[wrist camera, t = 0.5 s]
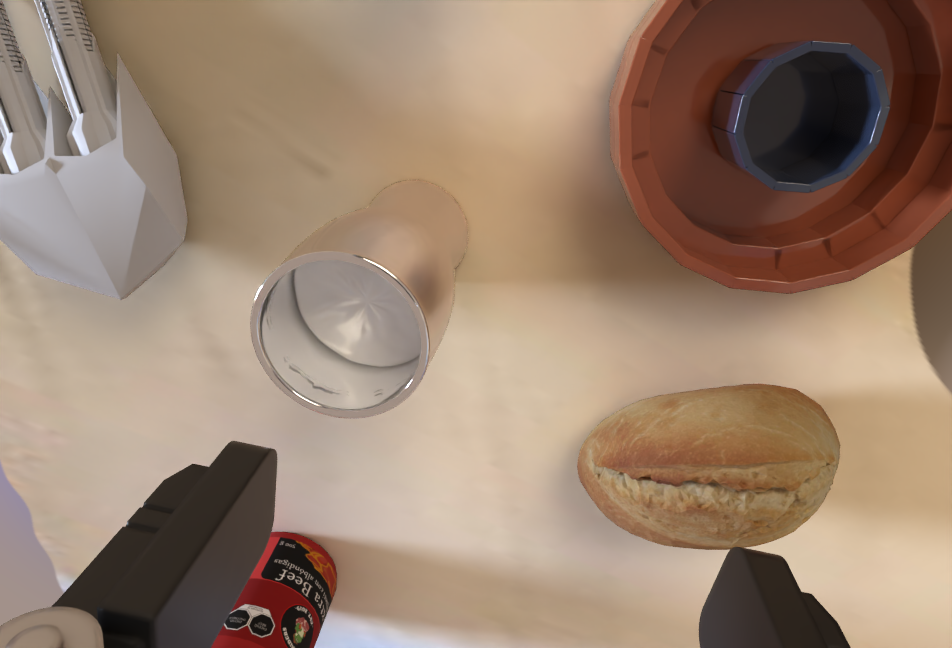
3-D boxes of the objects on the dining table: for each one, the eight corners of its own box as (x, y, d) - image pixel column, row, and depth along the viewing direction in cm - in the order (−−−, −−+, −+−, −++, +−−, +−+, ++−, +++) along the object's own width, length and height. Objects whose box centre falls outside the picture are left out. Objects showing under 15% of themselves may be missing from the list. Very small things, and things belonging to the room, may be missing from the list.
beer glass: (424, 144, 34) (344, 203, 20) (501, 244, 36) (476, 361, 22) (332, 220, 36) (204, 319, 22) (409, 310, 38) (334, 454, 24)
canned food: (358, 590, 47) (309, 734, 37) (272, 615, 49) (203, 758, 39) (307, 515, 45) (239, 647, 35) (218, 544, 47) (131, 677, 37)
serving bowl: (635, -87, 29) (651, -112, 25) (1004, -65, 28) (1088, -87, 24) (586, 249, 35) (592, 275, 31) (885, 277, 34) (933, 308, 30)
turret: (112, -96, 33) (39, -138, 28) (226, 274, 37) (179, 289, 32) (-45, -42, 34) (-138, -74, 30) (82, 304, 39) (18, 324, 34)
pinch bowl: (693, 81, 31) (717, 84, 27) (822, 19, 29) (869, 13, 25) (731, 194, 33) (759, 214, 29) (854, 142, 31) (903, 155, 27)
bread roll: (561, 381, 39) (566, 456, 31) (817, 339, 36) (888, 411, 29) (587, 504, 42) (597, 597, 35) (822, 474, 39) (886, 569, 32)
